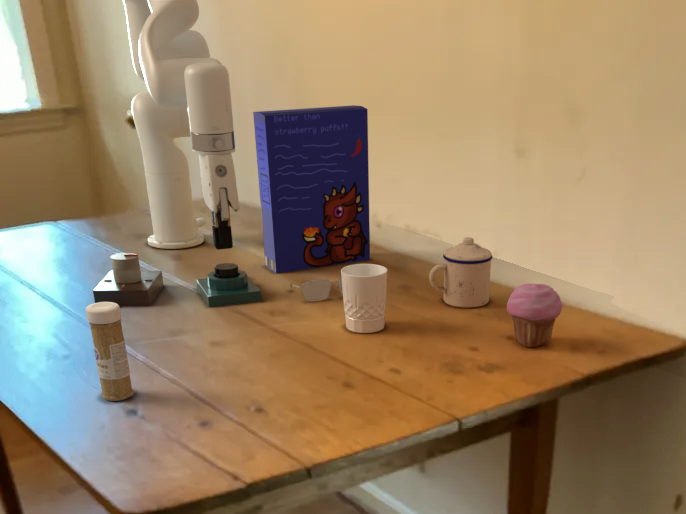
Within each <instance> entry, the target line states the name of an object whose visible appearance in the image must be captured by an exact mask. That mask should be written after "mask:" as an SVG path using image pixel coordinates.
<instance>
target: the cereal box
mask: <svg viewBox="0 0 686 514" xmlns="http://www.w3.org/2000/svg"><path fill="white" fill-rule="evenodd" d="M252 114H253V124H254V125H253V126H254V138H255V139H254V140H255V152H256V164H257V177H258V190H259V201H260V213H261V214H260V215H261V227H262V240H263V252H264V266H265V267H266V268H267V269H269V270H270V271H272V272H273V273H274V274H282V273H289V272H296V271H302V270H309V269H317V268H325V267H332V266H338V265H344V264H345V265H346V264H352V263H359V262H367V261H370V260H371V238H370V237H371V232H370V230H371V229H370V227H371V225H370V186H369V185H370V178H369V175H370V173H369V172H370V171H369V124H368V123H369V119H368V116H369V115H368V114H369V113H368V108H367V107H365V106H362V105H356V104H355V105H354V104H352V105H338V106H324V107H323V106H322V107H321V106H320V107H308V108H306V107H305V108H292V109H291V108H290V109H277V110H276V109H275V110H262V111H261V110H260V111H252Z"/></svg>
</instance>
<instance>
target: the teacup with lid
mask: <svg viewBox="0 0 686 514" xmlns="http://www.w3.org/2000/svg"><path fill="white" fill-rule="evenodd" d="M442 258H443V260H444V261H443V263H440V264H436V265H434V266H433V267H432V268H431V269H430V271H429V275H428V279H429V283H430V285H431V287H432V288H433V289H434V290H435V291H436V292H441V293H443V302H444V303H445V304H446V305H449V306H451V307H455V308H463V309H473V308H478V307H482V306H486V305H487V304H488V303H489V301H490V291H491V289H490V288H491V269H492V259H493V253H492V251H491V250H489V249H488V248H486V247H482V246H481V245H479V244H478V243H475V239H474V238H473V237H471V236H470V237H469V236H468V237H464V238H463V239H462V242H461V243H458V244H456V245H455V246H452V247H449V248H447V249H445V250H444V252H443V254H442ZM440 270H443V286H438V285H437V284H436V282H435V274H436V273H437V272H438V271H440Z"/></svg>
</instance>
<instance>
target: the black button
mask: <svg viewBox="0 0 686 514" xmlns="http://www.w3.org/2000/svg"><path fill="white" fill-rule="evenodd" d="M213 267H214V271H215V277H217V278H234V277H237V276H239V273H238V270H239V265H238V264H236V263H233V262H232V263H231V262H224V263H218V264H215V265H214V266H213Z"/></svg>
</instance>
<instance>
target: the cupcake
mask: <svg viewBox="0 0 686 514" xmlns="http://www.w3.org/2000/svg"><path fill="white" fill-rule="evenodd" d="M562 310H563V301H562V300H561V297H560V295H559V293H558V291H556V290H555V289H554V288H553V287H552V286H550V285H548V284H545V283H529V282H528V283H523V284H520V285H518V286H516V287H515V288H514V290H513V291H512V292H511V293H510V296H509V297H508V301H507V302H506V311H507V313H508V314H509V315H510V316H511V319H512V324H513V331H514V335H515V340H516V341H517V342H518V343H519V344H521V345H522V346H523V347H526V348H534V347H538V346H544V345H548V344H549V343H550V342H551V340H552V335H553V329H554V325H555V322H556V319H557V318H558V317H559V316H560V315H561V312H562Z"/></svg>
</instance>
